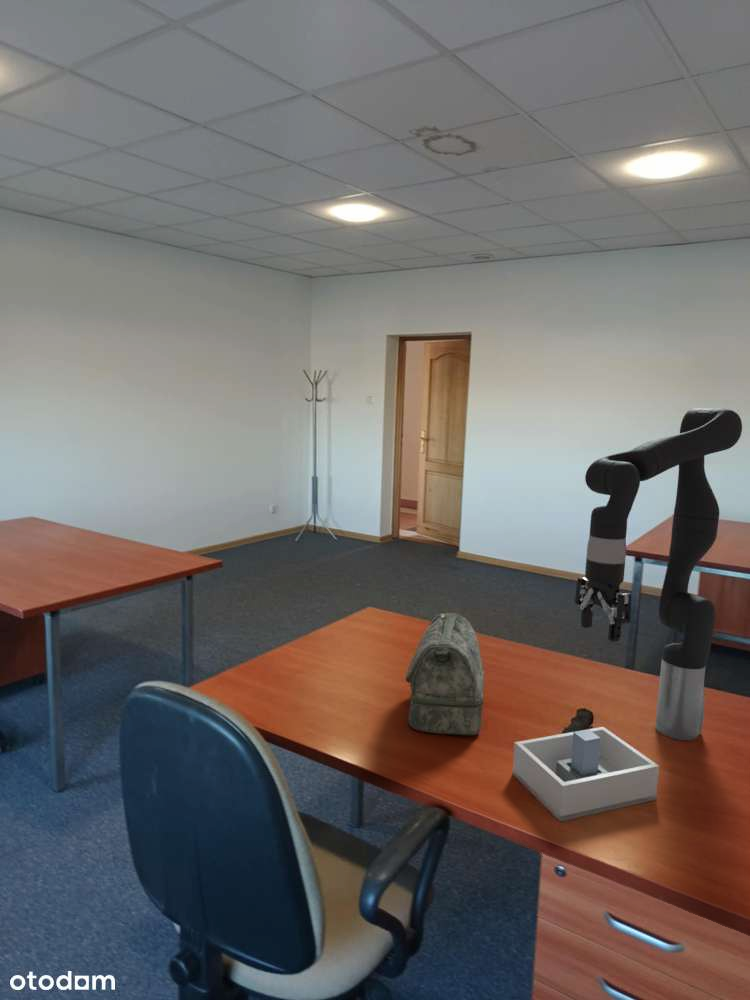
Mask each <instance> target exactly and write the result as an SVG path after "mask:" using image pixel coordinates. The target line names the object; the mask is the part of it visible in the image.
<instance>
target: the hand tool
mask: <svg viewBox="0 0 750 1000" xmlns="http://www.w3.org/2000/svg"><path fill="white" fill-rule="evenodd" d="M594 717H595V716H594V712H592V710H589V709H587V708H586V707H582V708H578V709H577V710H576V712H575V716H573V717H572V718H571V720H570V723H569V724H568V726H565V727H564V729H563V730H562V732H561V734H565V733H570V732H576V731H581V730H587V729H588V726H591V725H593V724H594V719H595V718H594Z"/></svg>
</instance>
